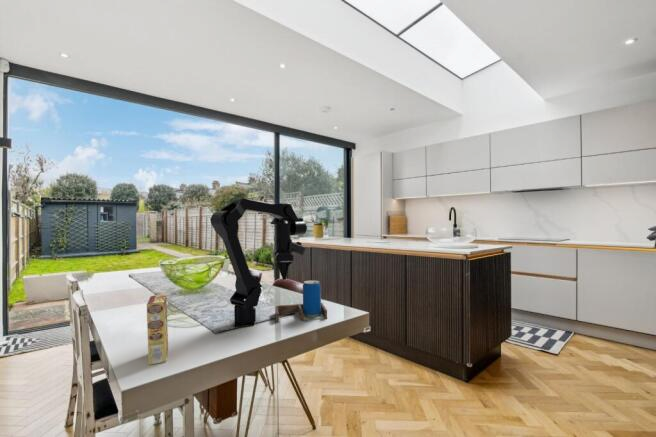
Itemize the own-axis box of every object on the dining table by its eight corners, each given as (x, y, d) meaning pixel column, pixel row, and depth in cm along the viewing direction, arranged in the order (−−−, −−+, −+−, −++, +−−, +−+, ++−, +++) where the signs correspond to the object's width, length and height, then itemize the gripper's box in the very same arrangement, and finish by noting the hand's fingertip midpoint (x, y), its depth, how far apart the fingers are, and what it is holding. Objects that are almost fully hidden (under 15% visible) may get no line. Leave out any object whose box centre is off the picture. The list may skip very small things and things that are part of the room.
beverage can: (320, 317, 114) (320, 283, 114) (302, 317, 115) (301, 283, 114) (321, 312, 121) (320, 279, 121) (303, 312, 121) (303, 280, 121)
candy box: (166, 362, 81) (165, 301, 81) (147, 365, 80) (146, 303, 79) (168, 349, 89) (167, 293, 89) (151, 352, 88) (150, 295, 88)
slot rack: (276, 322, 111) (276, 313, 111) (275, 313, 121) (275, 305, 121) (327, 318, 114) (327, 310, 114) (321, 310, 124) (321, 302, 124)
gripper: (307, 237, 116) (307, 280, 116) (301, 234, 134) (301, 272, 134) (275, 238, 114) (276, 282, 114) (273, 235, 132) (274, 273, 132)
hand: (283, 277), depth 124 cm, fingers open, 9 cm apart
